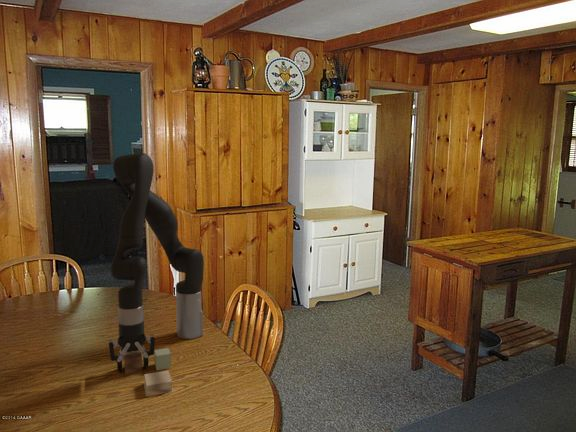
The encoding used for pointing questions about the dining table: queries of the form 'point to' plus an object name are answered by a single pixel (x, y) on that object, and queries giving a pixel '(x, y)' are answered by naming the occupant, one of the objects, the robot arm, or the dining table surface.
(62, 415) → the dining table surface
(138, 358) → the walnut block
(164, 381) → the maple slab
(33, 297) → the dining table surface
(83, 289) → the dining table surface
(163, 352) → the sage block
